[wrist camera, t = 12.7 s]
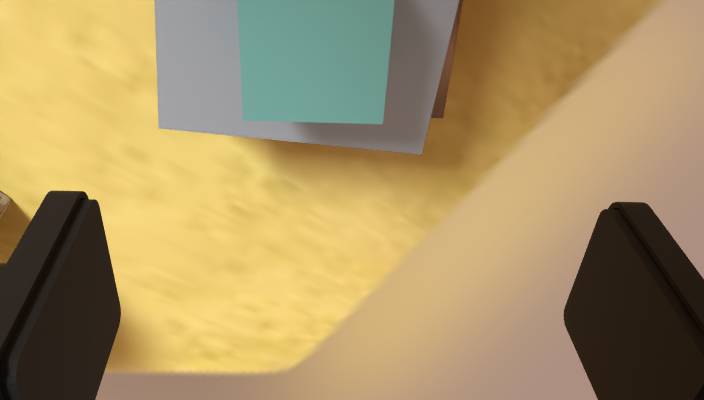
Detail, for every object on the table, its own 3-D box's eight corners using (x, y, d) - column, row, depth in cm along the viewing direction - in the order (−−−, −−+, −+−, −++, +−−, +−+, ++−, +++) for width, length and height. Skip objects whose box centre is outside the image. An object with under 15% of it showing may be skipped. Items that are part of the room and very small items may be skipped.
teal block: (249, -62, 24) (236, -24, 19) (382, -55, 24) (396, -17, 20) (254, 64, 26) (243, 120, 22) (372, 68, 27) (382, 124, 23)
